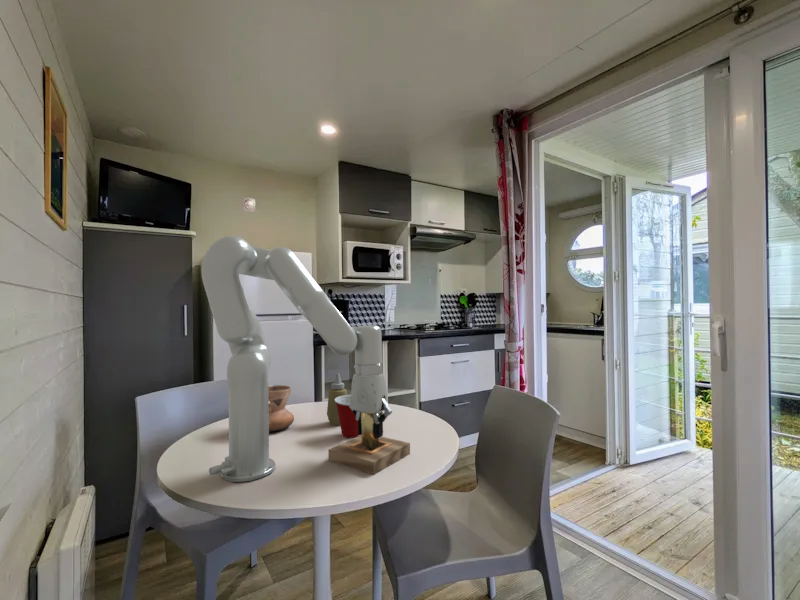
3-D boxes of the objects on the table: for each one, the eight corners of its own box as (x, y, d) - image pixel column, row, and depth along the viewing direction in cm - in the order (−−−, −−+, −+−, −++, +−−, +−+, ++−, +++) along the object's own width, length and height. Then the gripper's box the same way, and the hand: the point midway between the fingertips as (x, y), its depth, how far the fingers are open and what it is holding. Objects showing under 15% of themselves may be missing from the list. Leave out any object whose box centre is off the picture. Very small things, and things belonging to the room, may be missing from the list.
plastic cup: (351, 443, 114) (351, 403, 114) (327, 436, 121) (327, 399, 121) (375, 433, 123) (374, 397, 123) (351, 428, 129) (351, 393, 130)
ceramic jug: (286, 436, 122) (287, 392, 123) (242, 436, 122) (242, 392, 122) (299, 421, 140) (300, 383, 141) (261, 421, 140) (261, 383, 140)
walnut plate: (374, 474, 92) (374, 461, 92) (328, 460, 101) (328, 448, 101) (410, 453, 105) (409, 441, 105) (366, 443, 114) (366, 432, 114)
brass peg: (371, 448, 100) (370, 410, 100) (357, 444, 102) (357, 408, 103) (383, 442, 104) (382, 406, 104) (369, 439, 107) (368, 404, 107)
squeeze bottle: (354, 422, 136) (353, 372, 137) (339, 428, 129) (339, 376, 130) (337, 419, 140) (336, 371, 141) (322, 424, 133) (321, 374, 134)
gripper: (337, 369, 105) (338, 434, 105) (384, 374, 96) (386, 445, 95) (355, 366, 112) (356, 427, 111) (401, 369, 102) (403, 437, 101)
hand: (370, 434), depth 103 cm, fingers closed on brass peg, 5 cm apart
